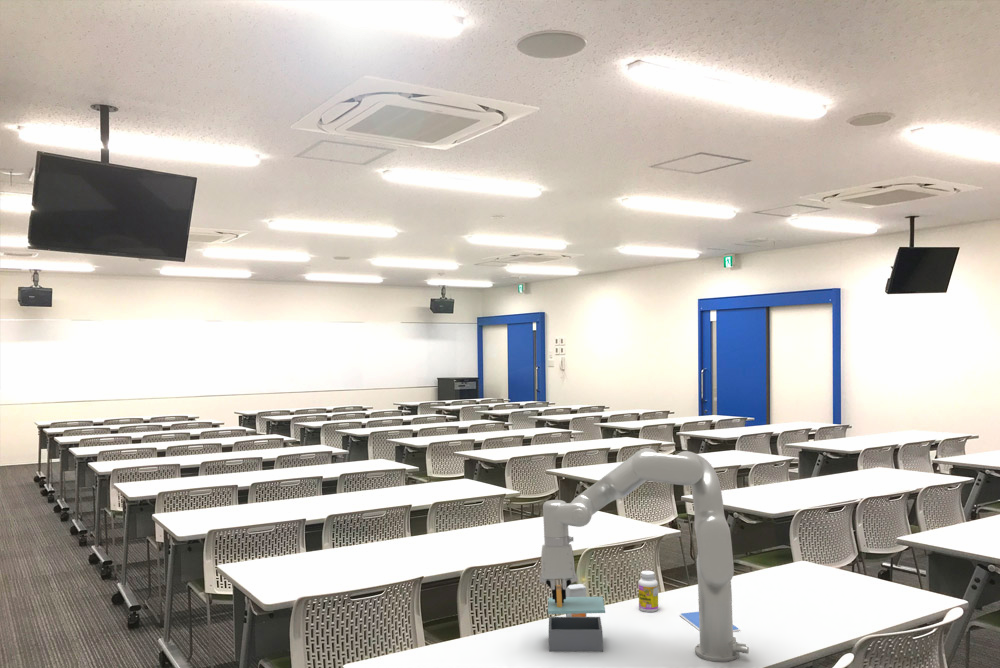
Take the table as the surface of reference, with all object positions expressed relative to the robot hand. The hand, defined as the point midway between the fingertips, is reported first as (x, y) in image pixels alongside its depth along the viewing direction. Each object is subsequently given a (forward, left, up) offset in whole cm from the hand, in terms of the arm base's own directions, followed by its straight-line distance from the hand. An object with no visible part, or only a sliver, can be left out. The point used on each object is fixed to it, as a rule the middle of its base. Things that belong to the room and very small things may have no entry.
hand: (559, 601), depth 233 cm
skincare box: (+4, -22, -14) cm, 26 cm away
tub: (-4, -2, -14) cm, 14 cm away
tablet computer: (-36, -39, -15) cm, 55 cm away
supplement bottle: (-14, -44, -14) cm, 48 cm away
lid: (-5, -2, -2) cm, 5 cm away
